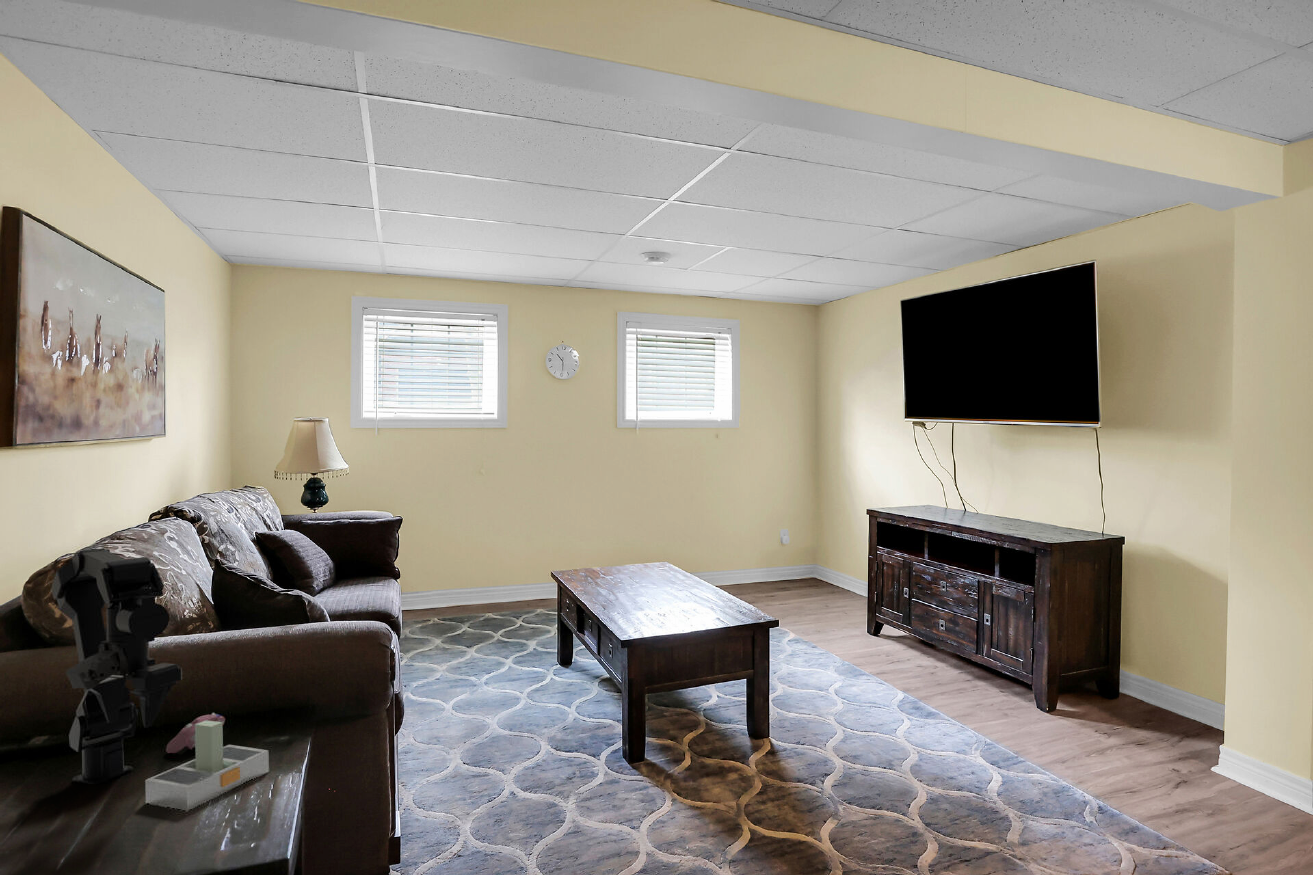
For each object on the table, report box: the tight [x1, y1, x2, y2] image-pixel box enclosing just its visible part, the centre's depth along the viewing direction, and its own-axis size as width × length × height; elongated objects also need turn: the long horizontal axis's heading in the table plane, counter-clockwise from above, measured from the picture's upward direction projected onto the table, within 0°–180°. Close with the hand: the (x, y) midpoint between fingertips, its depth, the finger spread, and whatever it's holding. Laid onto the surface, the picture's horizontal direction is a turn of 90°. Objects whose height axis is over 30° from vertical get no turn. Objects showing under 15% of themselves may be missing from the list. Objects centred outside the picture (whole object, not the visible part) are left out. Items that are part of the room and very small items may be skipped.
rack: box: [144, 744, 270, 812], centre depth 122 cm, size 10×15×4 cm
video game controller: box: [165, 712, 226, 754], centre depth 142 cm, size 10×5×7 cm, turn 169°
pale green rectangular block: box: [194, 720, 224, 773], centre depth 122 cm, size 4×2×10 cm, turn 70°
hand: (129, 724), depth 120 cm, fingers open, 9 cm apart
